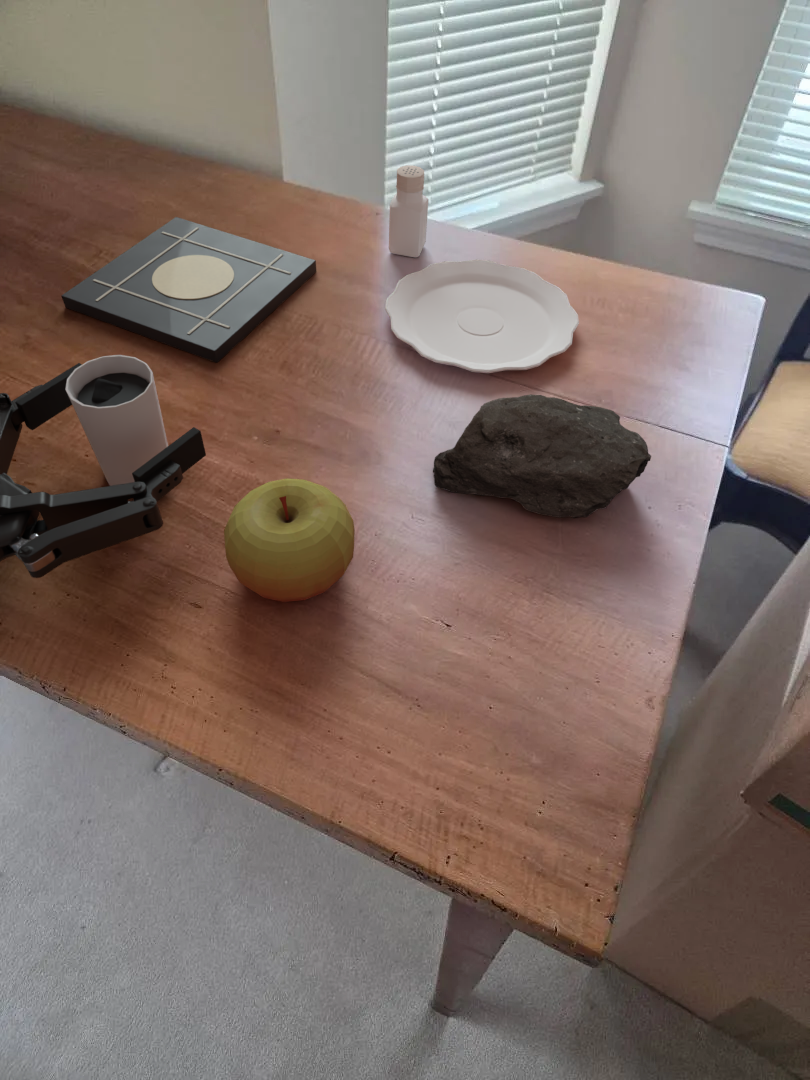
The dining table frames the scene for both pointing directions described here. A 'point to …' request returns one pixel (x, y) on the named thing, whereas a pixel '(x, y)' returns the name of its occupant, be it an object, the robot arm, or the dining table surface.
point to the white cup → (118, 413)
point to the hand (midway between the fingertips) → (141, 407)
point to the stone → (544, 455)
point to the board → (192, 287)
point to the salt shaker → (408, 213)
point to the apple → (289, 539)
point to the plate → (481, 316)
